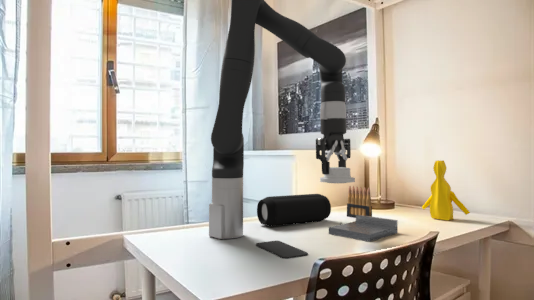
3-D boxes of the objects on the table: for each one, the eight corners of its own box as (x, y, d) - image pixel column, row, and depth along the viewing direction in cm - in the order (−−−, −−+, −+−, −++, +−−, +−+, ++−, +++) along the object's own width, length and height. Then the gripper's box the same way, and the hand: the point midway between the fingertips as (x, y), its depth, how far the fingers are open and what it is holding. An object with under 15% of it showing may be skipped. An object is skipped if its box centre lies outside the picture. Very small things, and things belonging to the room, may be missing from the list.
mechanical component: (347, 184, 101) (359, 182, 109) (347, 168, 101) (359, 167, 109) (314, 183, 106) (328, 181, 115) (314, 168, 106) (328, 166, 115)
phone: (283, 257, 85) (254, 243, 98) (283, 261, 85) (254, 246, 98) (310, 253, 89) (278, 240, 102) (310, 256, 89) (278, 243, 102)
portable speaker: (316, 218, 139) (316, 192, 139) (332, 223, 131) (332, 194, 131) (255, 224, 127) (255, 195, 128) (269, 229, 119) (269, 198, 119)
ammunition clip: (346, 216, 144) (346, 185, 144) (349, 215, 145) (349, 185, 145) (369, 220, 135) (369, 187, 135) (372, 219, 136) (372, 187, 137)
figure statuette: (472, 221, 133) (472, 160, 133) (463, 224, 128) (463, 160, 128) (424, 215, 147) (424, 159, 147) (414, 217, 142) (414, 160, 142)
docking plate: (369, 241, 102) (369, 227, 102) (328, 233, 112) (328, 220, 112) (397, 233, 113) (397, 220, 113) (357, 226, 123) (357, 214, 123)
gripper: (337, 120, 117) (338, 172, 116) (307, 117, 107) (308, 174, 107) (357, 118, 111) (358, 173, 111) (328, 115, 101) (329, 175, 101)
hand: (334, 173), depth 109 cm, fingers closed on mechanical component, 7 cm apart
